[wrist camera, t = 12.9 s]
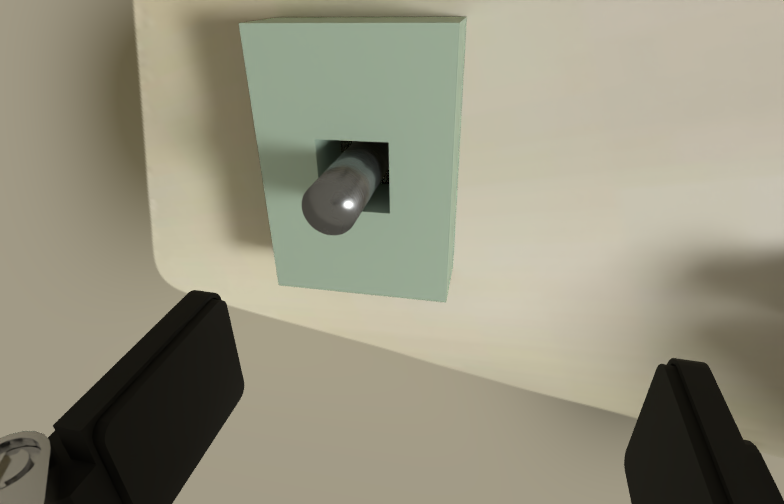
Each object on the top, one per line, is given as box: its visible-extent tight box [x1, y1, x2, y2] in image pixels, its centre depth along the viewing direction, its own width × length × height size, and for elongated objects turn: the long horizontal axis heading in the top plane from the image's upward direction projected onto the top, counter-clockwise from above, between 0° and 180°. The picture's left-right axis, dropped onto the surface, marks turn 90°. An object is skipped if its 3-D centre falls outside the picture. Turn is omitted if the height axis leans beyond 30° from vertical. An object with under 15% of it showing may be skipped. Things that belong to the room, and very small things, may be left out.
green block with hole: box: [239, 17, 466, 302], centre depth 31 cm, size 17×12×5 cm
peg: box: [302, 141, 389, 235], centre depth 29 cm, size 3×3×10 cm
